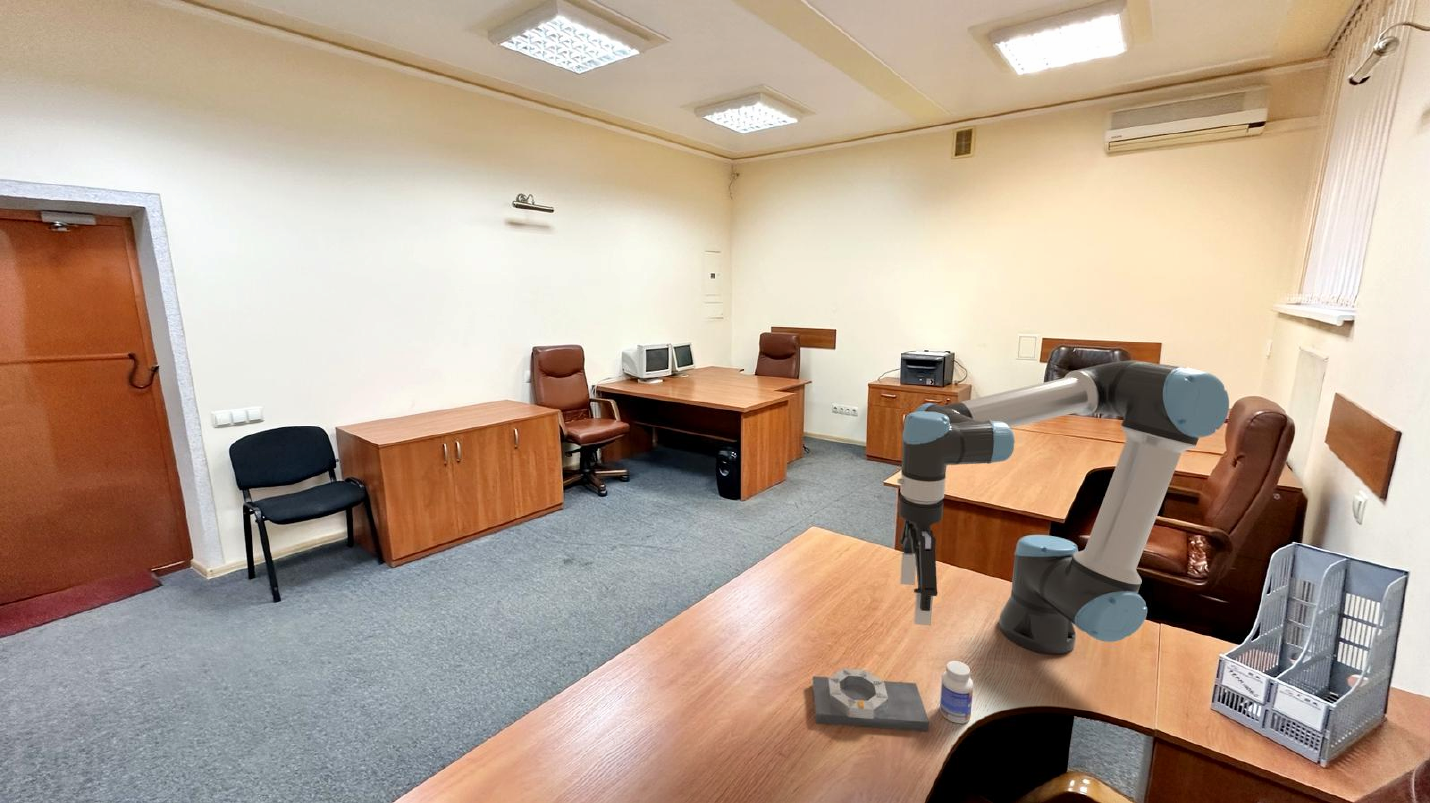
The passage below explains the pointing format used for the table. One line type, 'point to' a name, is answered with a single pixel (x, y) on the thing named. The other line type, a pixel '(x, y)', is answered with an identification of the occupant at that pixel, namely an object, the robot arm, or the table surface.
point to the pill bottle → (956, 692)
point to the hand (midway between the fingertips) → (914, 602)
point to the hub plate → (888, 719)
